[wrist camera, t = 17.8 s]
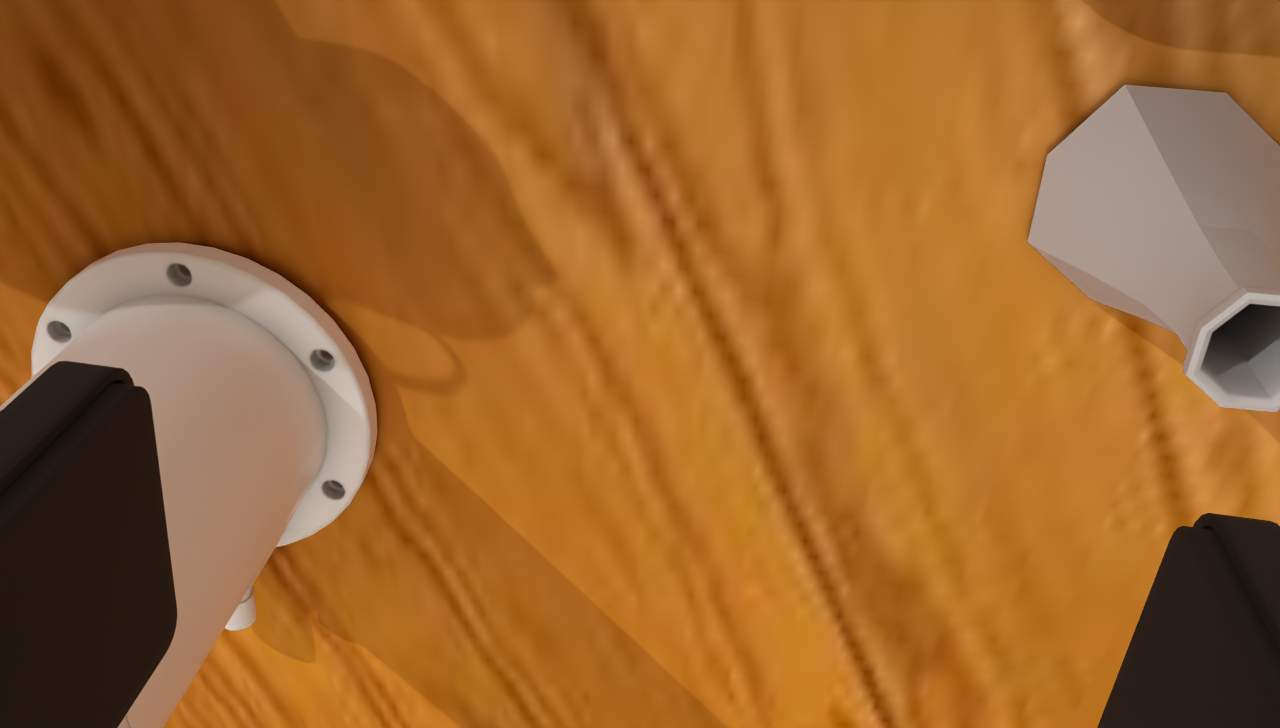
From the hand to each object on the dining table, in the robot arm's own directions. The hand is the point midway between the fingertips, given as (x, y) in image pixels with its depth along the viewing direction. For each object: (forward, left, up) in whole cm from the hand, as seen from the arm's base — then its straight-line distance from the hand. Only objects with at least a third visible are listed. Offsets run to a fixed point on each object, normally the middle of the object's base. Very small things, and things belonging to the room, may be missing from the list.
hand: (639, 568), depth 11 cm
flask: (-6, -13, -27) cm, 31 cm away
